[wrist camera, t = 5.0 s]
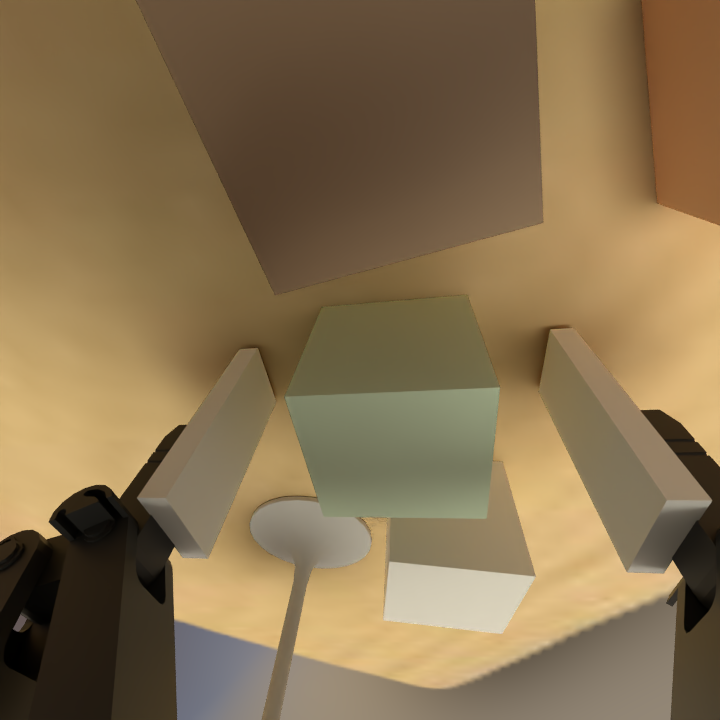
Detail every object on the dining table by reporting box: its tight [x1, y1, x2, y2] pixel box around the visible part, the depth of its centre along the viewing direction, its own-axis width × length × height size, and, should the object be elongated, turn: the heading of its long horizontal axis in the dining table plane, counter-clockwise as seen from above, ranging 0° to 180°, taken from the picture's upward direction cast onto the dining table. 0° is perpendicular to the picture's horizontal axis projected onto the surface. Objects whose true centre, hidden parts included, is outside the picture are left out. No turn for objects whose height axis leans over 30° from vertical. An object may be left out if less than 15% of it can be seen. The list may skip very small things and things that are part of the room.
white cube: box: [383, 461, 536, 634], centre depth 16 cm, size 5×5×5 cm
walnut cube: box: [136, 0, 543, 295], centre depth 7 cm, size 5×5×5 cm
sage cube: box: [284, 295, 500, 519], centre depth 12 cm, size 5×5×5 cm
